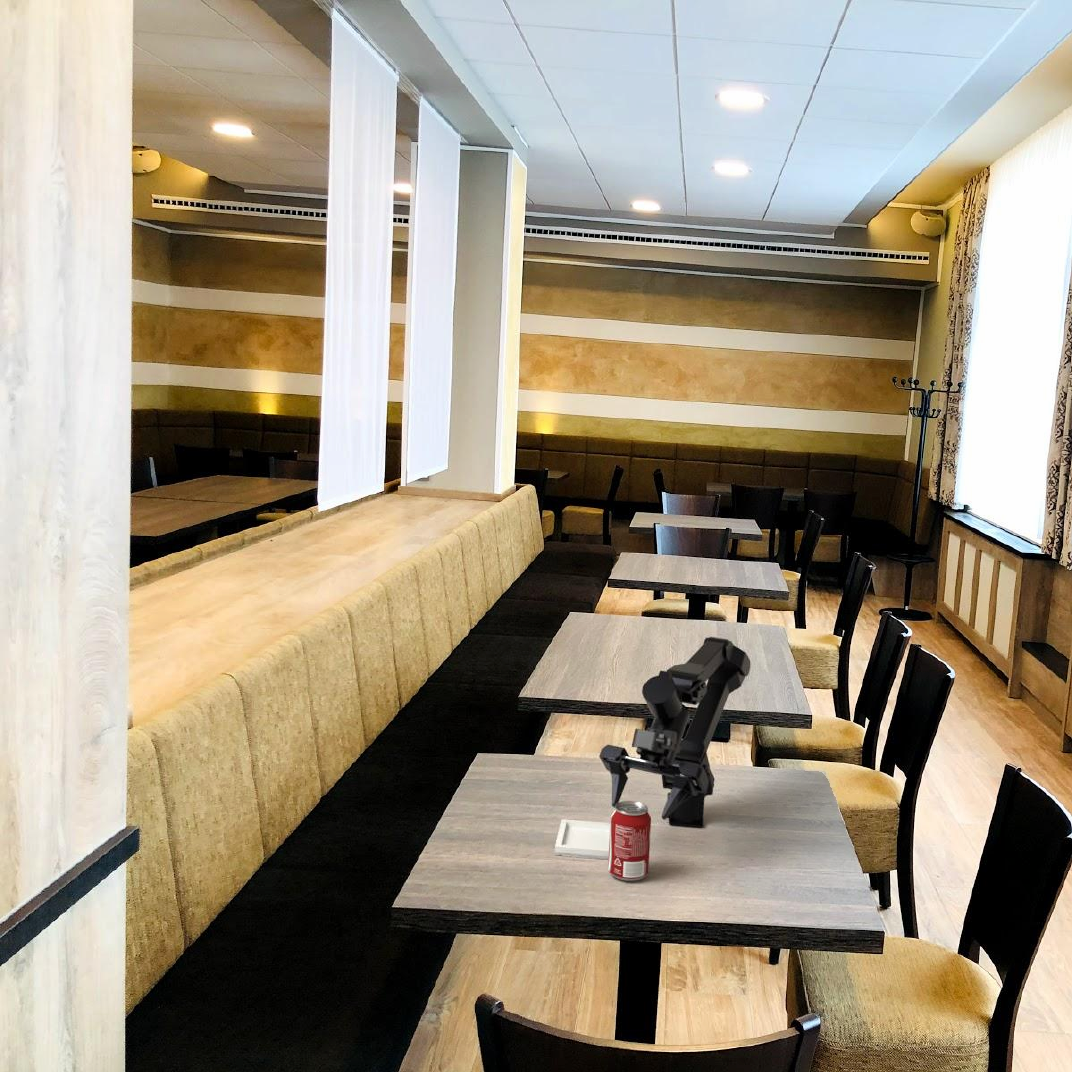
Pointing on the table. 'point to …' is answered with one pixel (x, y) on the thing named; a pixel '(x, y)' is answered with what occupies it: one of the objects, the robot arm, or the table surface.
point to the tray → (583, 839)
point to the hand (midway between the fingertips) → (638, 812)
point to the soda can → (629, 841)
